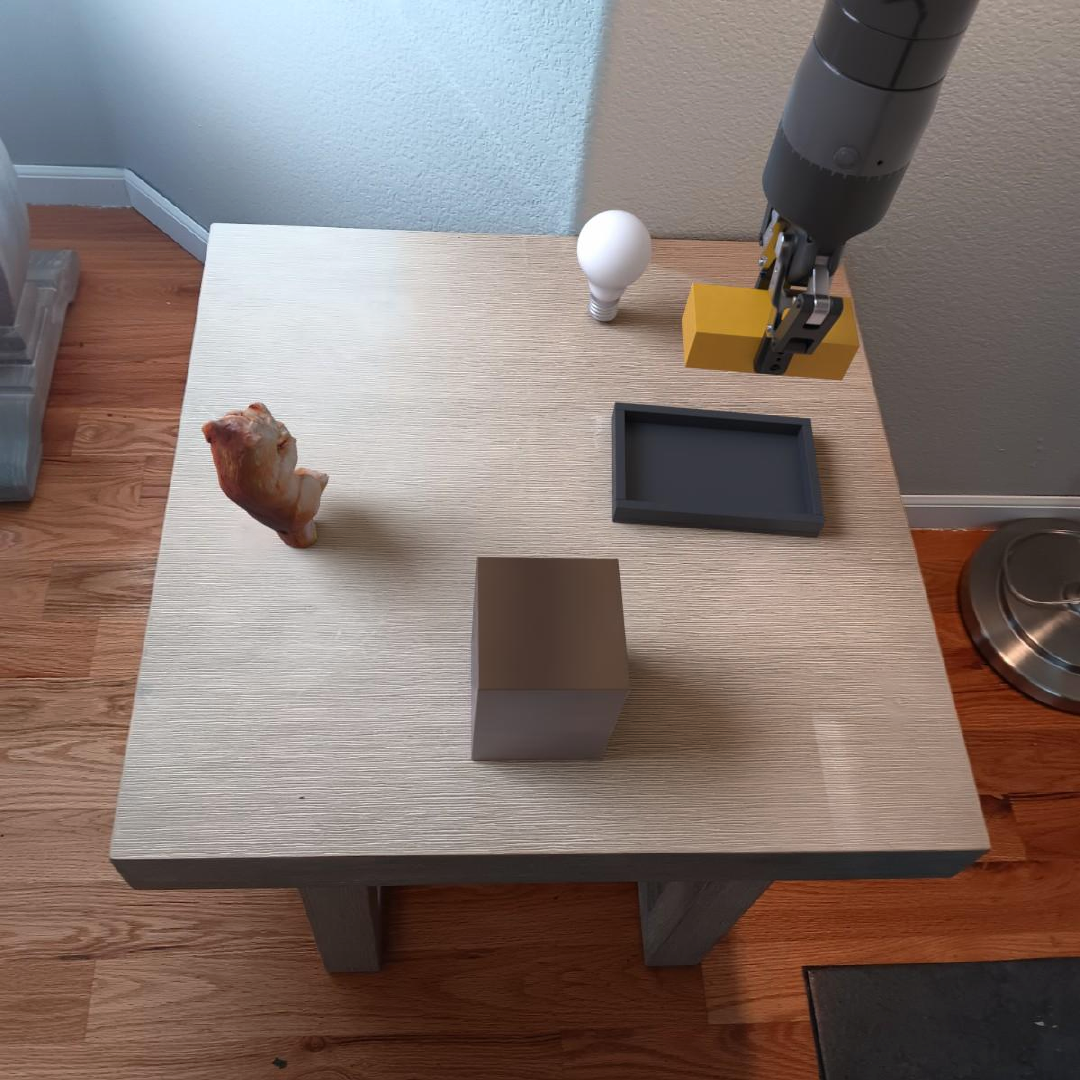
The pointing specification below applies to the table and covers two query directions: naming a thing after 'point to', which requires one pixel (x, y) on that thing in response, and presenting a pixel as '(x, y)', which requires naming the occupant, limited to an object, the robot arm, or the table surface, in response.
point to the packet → (756, 334)
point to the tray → (714, 470)
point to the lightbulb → (612, 258)
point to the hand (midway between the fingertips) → (764, 341)
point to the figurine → (266, 473)
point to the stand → (546, 658)
